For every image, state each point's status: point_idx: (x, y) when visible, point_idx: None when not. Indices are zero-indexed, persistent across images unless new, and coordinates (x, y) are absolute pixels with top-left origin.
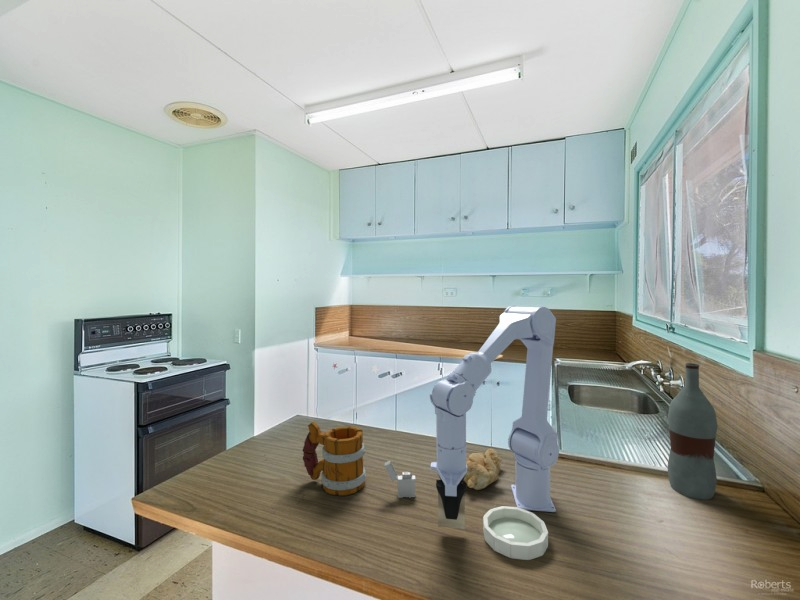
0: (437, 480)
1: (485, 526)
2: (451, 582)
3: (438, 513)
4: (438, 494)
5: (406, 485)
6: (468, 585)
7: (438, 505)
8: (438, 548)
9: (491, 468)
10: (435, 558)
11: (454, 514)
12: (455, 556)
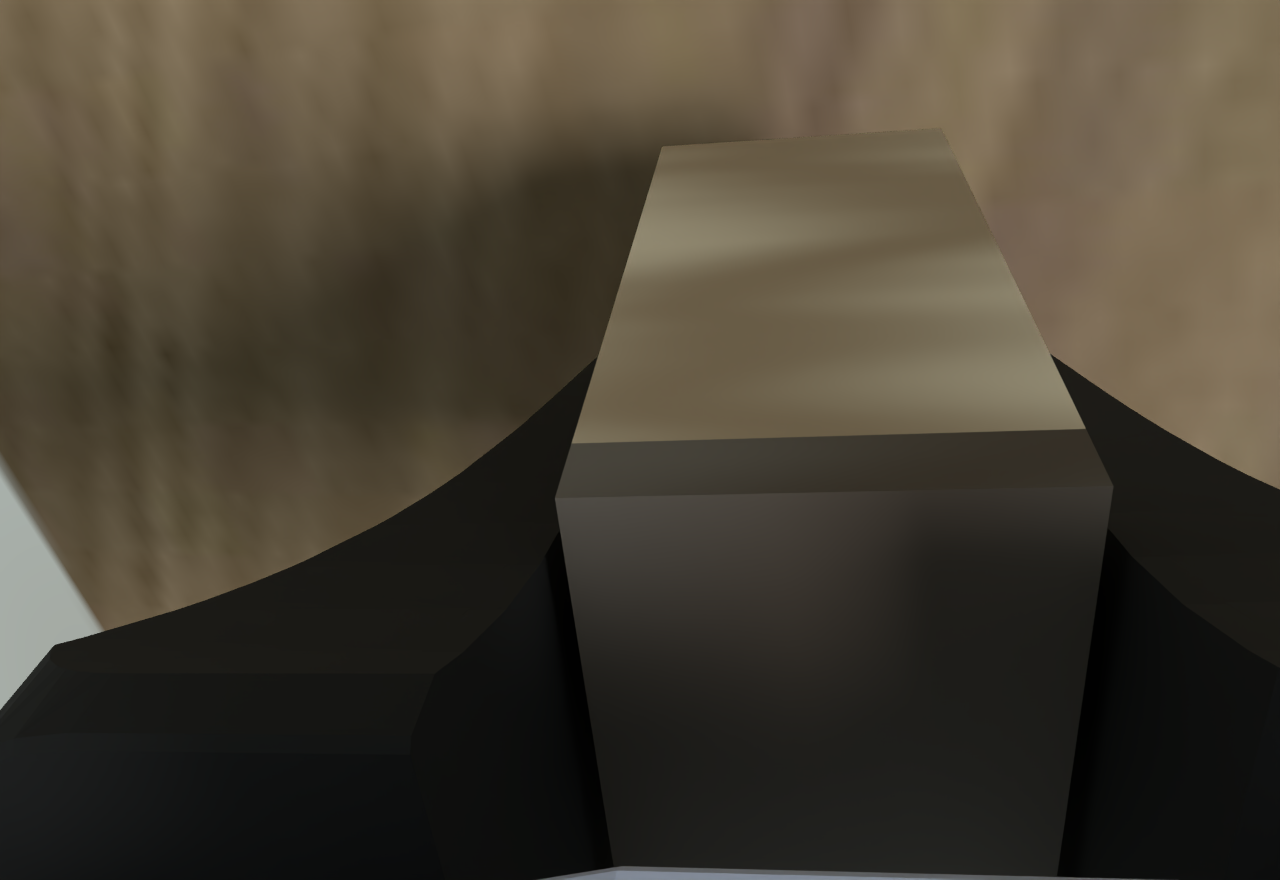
0: (340, 784)
1: None
2: (35, 312)
3: (640, 228)
4: (575, 437)
5: None
6: (84, 463)
7: (624, 296)
8: (484, 117)
9: None
10: (292, 100)
11: None
12: (415, 334)
